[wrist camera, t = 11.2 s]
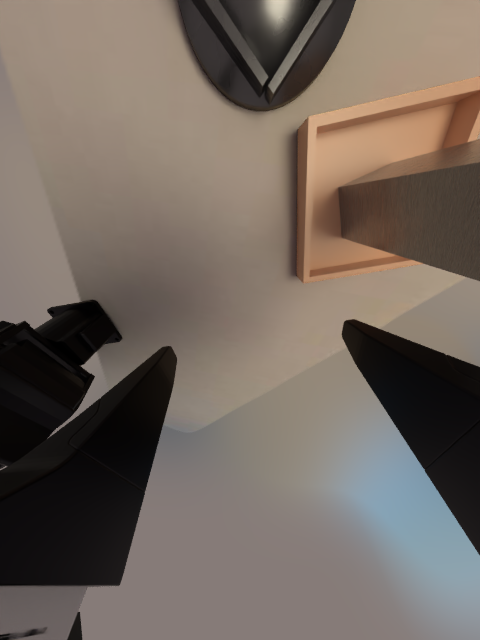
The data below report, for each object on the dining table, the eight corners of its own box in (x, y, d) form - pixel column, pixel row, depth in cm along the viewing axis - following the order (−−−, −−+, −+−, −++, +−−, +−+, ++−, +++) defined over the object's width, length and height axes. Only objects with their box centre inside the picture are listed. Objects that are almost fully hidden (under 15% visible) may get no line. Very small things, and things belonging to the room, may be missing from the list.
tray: (296, 275, 21) (303, 283, 19) (297, 129, 14) (308, 116, 12) (405, 257, 20) (425, 263, 18) (462, 91, 13) (504, 70, 11)
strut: (341, 238, 18) (538, 299, 6) (338, 187, 16) (639, 134, 4) (389, 219, 17) (720, 249, 5) (392, 162, 15) (982, 2, 3)
